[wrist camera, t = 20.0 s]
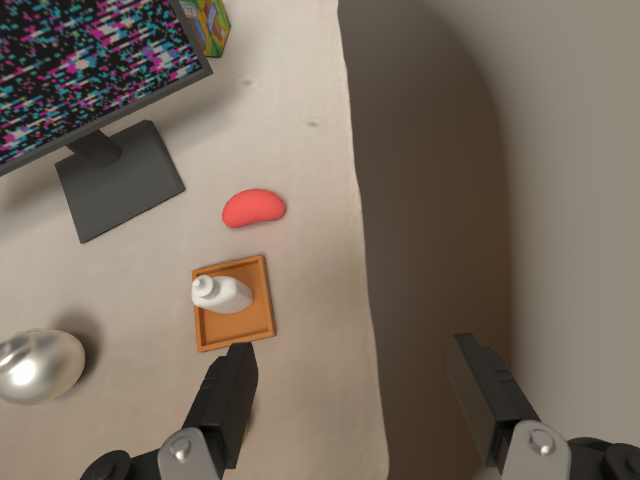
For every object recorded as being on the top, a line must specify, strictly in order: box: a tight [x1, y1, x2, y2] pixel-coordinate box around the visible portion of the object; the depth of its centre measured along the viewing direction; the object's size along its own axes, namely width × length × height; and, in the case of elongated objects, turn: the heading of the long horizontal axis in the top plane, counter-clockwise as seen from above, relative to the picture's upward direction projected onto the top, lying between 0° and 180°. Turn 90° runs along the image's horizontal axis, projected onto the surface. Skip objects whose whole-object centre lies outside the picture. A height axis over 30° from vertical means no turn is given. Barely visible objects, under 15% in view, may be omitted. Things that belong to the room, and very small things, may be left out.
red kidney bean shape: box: [222, 189, 285, 228], centre depth 47 cm, size 5×9×6 cm
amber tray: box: [192, 255, 277, 352], centre depth 44 cm, size 11×10×2 cm
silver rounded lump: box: [0, 328, 85, 406], centre depth 39 cm, size 9×10×10 cm
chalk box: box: [179, 0, 231, 57], centre depth 56 cm, size 9×9×15 cm
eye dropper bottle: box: [191, 275, 254, 314], centre depth 38 cm, size 4×6×12 cm
